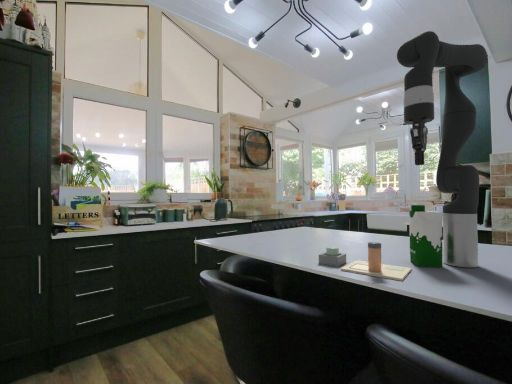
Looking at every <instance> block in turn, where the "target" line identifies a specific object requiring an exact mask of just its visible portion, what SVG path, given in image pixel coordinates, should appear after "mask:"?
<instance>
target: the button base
mask: <svg viewBox="0 0 512 384" xmlns="http://www.w3.org/2000/svg"><path fill="white" fill-rule="evenodd" d="M346 263H347V253H344V252H342V253H341V252H339V256H330V255H326V251H325V252H322V253H319V254H318V264H321V265H327V266H335V267H340V266H342V265H344V264H346Z"/></svg>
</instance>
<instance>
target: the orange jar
mask: <svg viewBox="0 0 512 384" xmlns="http://www.w3.org/2000/svg"><path fill="white" fill-rule="evenodd" d="M367 253H368V254H367V257H368V260H367V262H368V270H369V271H371V272H381V271H382V270H381V264H382V243H381V242H375V241H368V242H367Z"/></svg>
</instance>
